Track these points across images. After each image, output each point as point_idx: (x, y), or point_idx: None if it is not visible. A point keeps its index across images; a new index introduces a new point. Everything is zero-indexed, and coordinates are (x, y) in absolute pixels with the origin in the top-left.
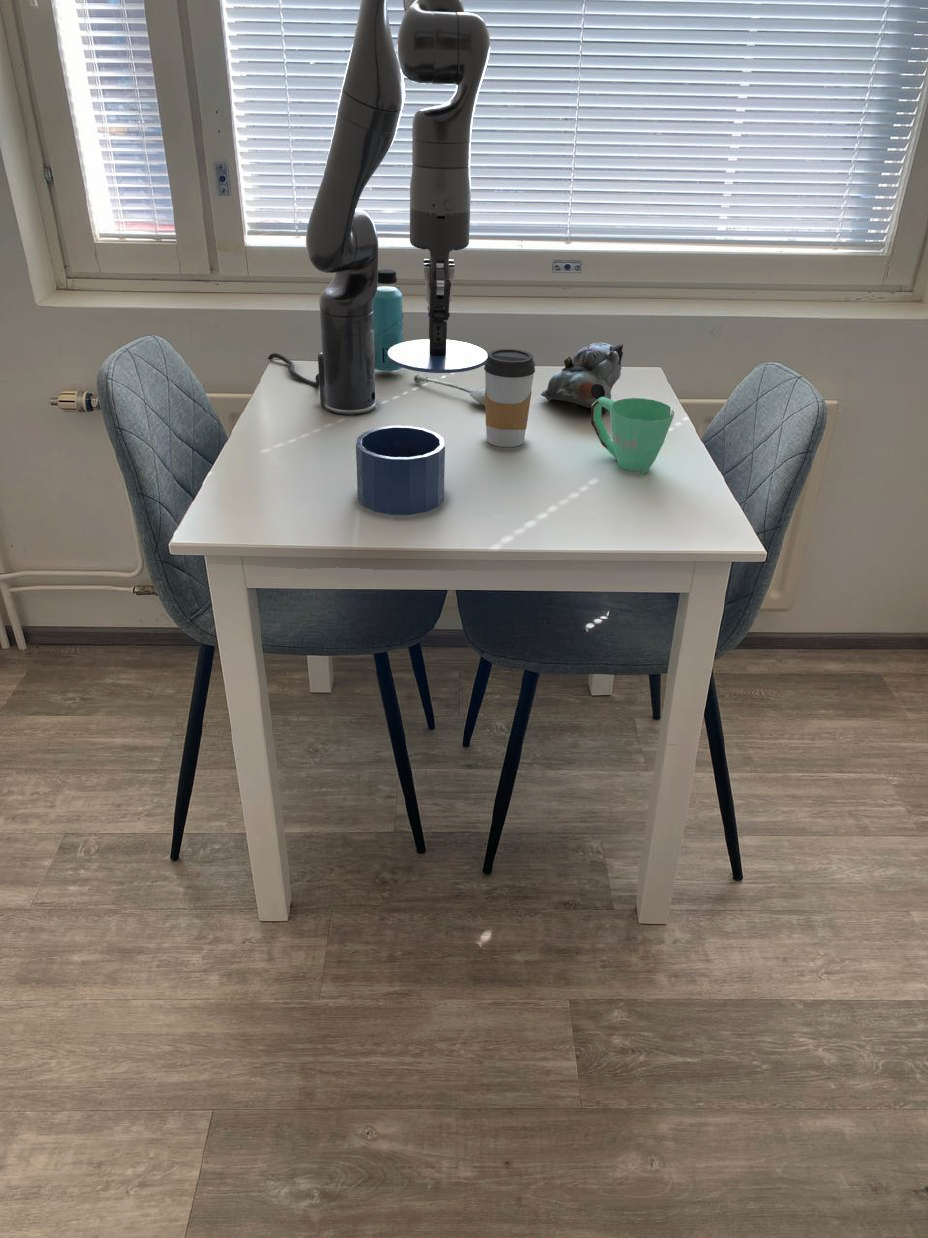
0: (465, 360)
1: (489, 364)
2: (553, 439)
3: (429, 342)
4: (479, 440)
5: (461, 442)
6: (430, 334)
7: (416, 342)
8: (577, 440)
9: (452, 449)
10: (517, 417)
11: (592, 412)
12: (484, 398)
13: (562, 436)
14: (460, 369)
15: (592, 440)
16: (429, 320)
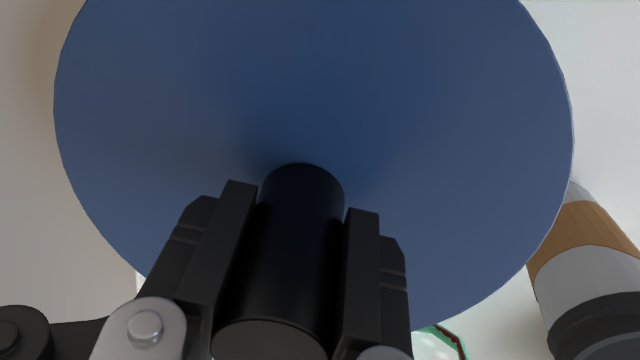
0: None
1: (638, 312)
2: (524, 275)
3: (234, 193)
4: (592, 171)
5: (604, 137)
6: (207, 229)
7: (522, 153)
8: (502, 299)
9: (578, 109)
10: None
11: (460, 354)
12: None
13: (529, 289)
14: (91, 216)
15: (491, 314)
16: (343, 299)
